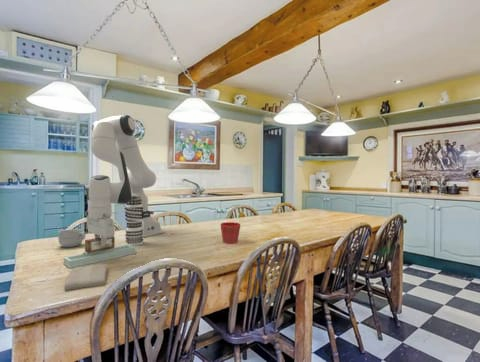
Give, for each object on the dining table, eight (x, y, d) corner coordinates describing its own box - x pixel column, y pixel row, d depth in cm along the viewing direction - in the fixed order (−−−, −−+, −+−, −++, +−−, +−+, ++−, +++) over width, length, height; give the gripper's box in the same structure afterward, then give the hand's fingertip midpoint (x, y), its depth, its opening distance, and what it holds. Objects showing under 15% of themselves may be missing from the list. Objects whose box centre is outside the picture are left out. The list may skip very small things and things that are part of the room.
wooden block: (111, 246, 124) (111, 235, 124) (114, 248, 122) (114, 236, 122) (85, 251, 116) (85, 239, 116) (87, 253, 114) (87, 241, 114)
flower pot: (241, 239, 153) (241, 222, 152) (239, 244, 142) (239, 226, 142) (222, 239, 154) (222, 221, 153) (218, 244, 143) (218, 225, 143)
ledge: (127, 249, 132) (127, 243, 132) (136, 253, 127) (136, 246, 127) (63, 263, 112) (63, 256, 112) (70, 268, 106) (70, 260, 106)
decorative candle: (131, 246, 137) (130, 196, 137) (121, 243, 143) (120, 195, 142) (147, 243, 145) (146, 195, 144) (137, 240, 150) (136, 194, 150)
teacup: (53, 247, 137) (53, 231, 137) (75, 242, 147) (75, 227, 146) (70, 250, 130) (70, 234, 130) (92, 245, 140) (92, 229, 140)
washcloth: (107, 269, 107) (107, 261, 107) (106, 286, 91) (106, 277, 90) (72, 273, 102) (72, 265, 102) (63, 293, 86) (63, 283, 86)
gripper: (118, 214, 114) (118, 247, 115) (98, 210, 128) (98, 239, 128) (102, 216, 110) (102, 250, 110) (83, 211, 123) (84, 242, 124)
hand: (100, 244), depth 119 cm, fingers closed on wooden block, 3 cm apart
